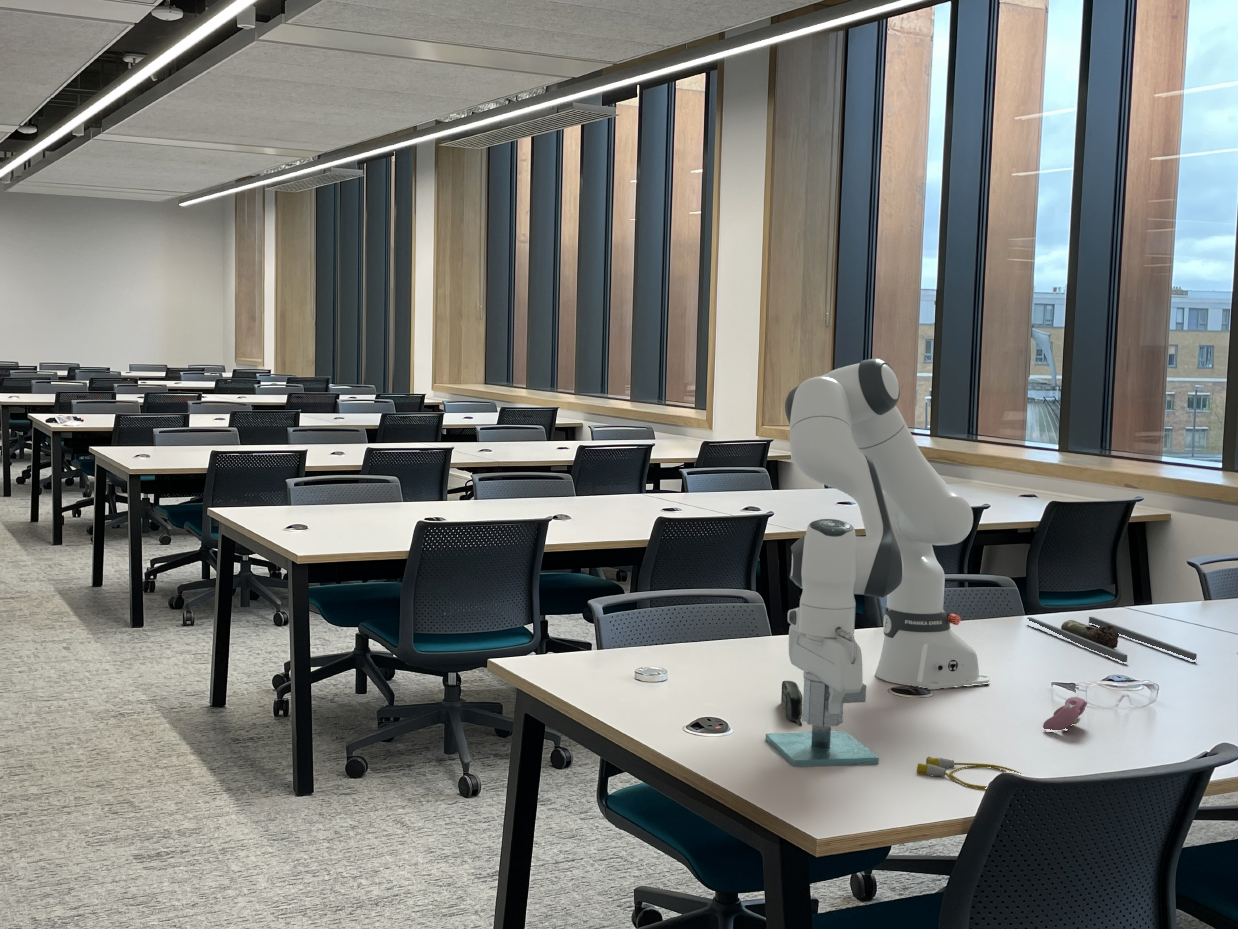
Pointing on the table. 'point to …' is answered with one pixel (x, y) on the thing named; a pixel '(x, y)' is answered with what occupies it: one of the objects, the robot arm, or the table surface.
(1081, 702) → the mauve lumpy piece
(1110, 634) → the olive brown elongated piece
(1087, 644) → the pipe rail left
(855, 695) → the tabbed metal cylinder
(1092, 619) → the pipe rail right
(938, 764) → the yellow thin looped cord
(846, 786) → the table surface
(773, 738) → the flat teal square plate
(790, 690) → the mobile phone
